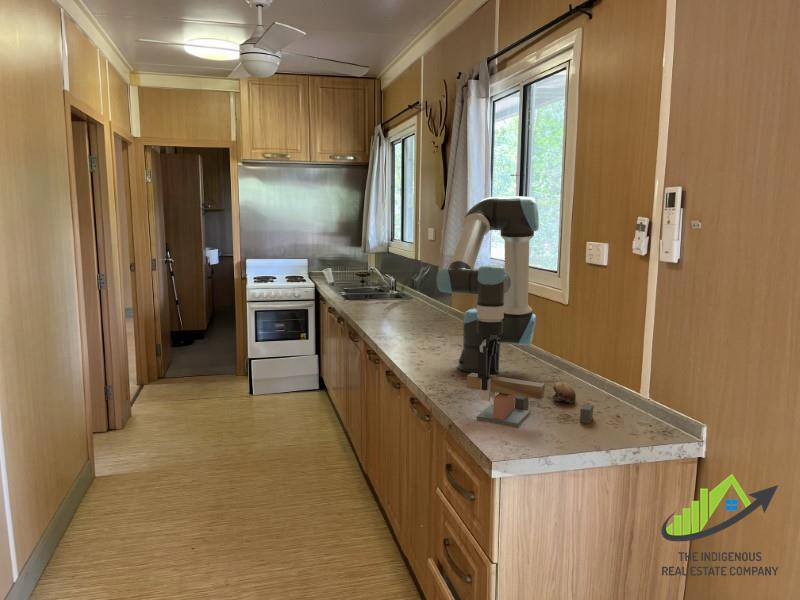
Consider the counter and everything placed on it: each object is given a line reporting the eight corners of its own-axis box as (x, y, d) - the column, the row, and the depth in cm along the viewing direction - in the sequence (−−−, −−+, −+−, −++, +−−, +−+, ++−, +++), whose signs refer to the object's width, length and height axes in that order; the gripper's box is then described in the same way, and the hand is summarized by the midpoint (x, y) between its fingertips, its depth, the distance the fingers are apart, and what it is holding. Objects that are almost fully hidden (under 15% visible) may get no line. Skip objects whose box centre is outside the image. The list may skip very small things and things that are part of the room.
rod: (471, 384, 170) (471, 372, 169) (544, 396, 159) (544, 383, 159) (466, 387, 167) (467, 375, 166) (540, 399, 156) (541, 386, 155)
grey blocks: (519, 406, 173) (520, 393, 173) (592, 418, 163) (593, 405, 162) (514, 410, 169) (515, 398, 169) (589, 423, 159) (590, 410, 158)
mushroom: (542, 390, 179) (555, 375, 177) (554, 394, 184) (567, 380, 183) (559, 408, 173) (572, 393, 172) (570, 412, 179) (584, 397, 177)
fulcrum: (491, 407, 172) (491, 385, 171) (530, 414, 166) (530, 391, 165) (476, 419, 162) (477, 396, 161) (517, 427, 156) (518, 402, 155)
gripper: (487, 314, 171) (485, 388, 175) (466, 322, 157) (464, 404, 160) (511, 316, 168) (509, 392, 171) (492, 325, 153) (489, 408, 157)
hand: (487, 398), depth 166 cm, fingers closed on rod, 4 cm apart
